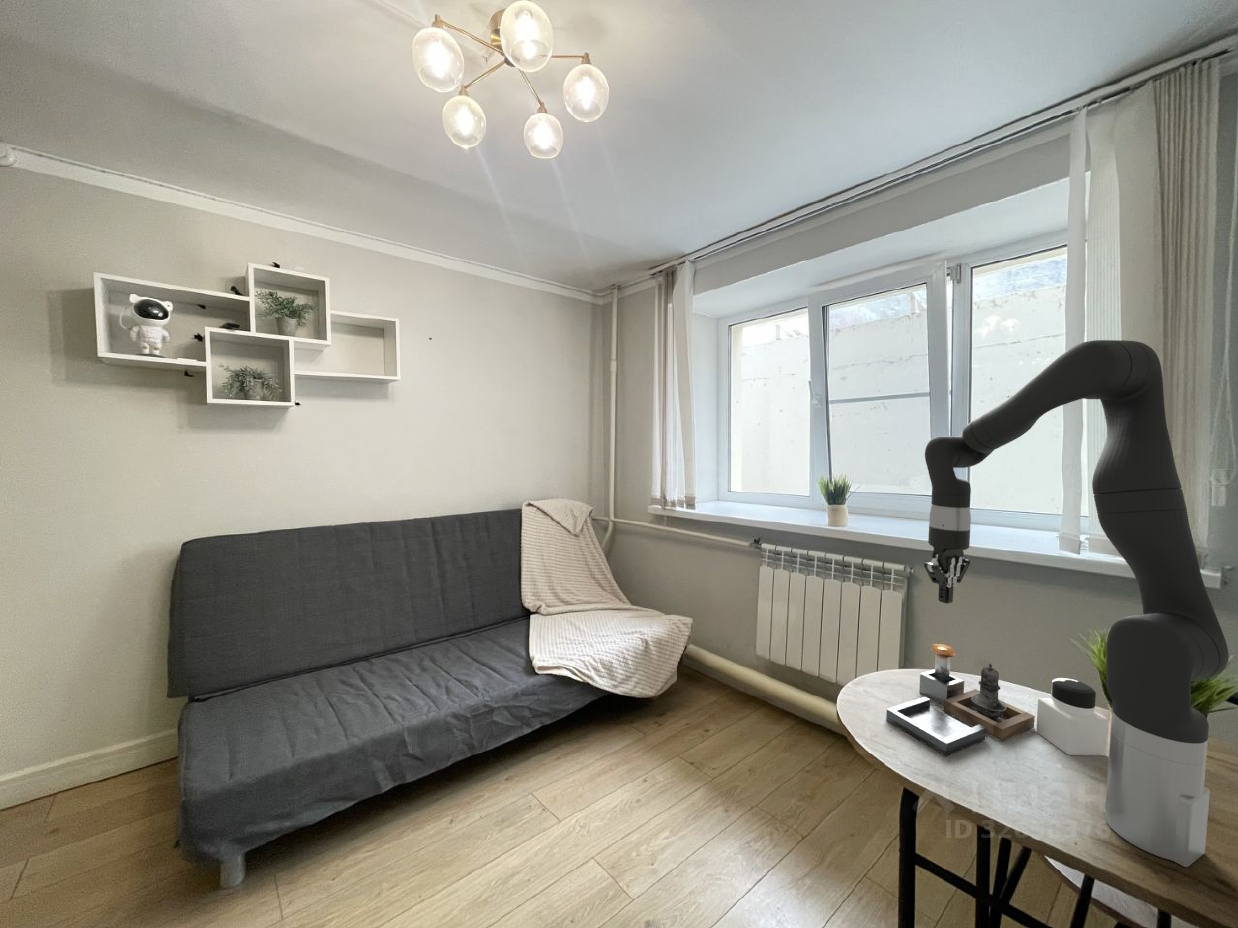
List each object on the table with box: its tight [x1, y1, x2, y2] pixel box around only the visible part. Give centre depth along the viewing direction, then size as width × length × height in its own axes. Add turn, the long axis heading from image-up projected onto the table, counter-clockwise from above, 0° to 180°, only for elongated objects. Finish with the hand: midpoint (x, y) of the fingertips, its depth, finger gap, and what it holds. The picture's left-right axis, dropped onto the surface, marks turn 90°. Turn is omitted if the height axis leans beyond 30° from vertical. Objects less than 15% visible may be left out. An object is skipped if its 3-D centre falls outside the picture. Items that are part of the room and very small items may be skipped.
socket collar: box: [943, 688, 1036, 742], centre depth 99 cm, size 11×11×2 cm
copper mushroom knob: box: [931, 643, 956, 681], centre depth 107 cm, size 4×4×7 cm
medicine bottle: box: [1035, 677, 1110, 756], centre depth 91 cm, size 7×7×12 cm
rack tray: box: [885, 696, 987, 757], centre depth 95 cm, size 12×12×2 cm
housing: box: [918, 668, 965, 706], centre depth 107 cm, size 6×6×4 cm
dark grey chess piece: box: [971, 663, 1006, 723], centre depth 98 cm, size 6×6×12 cm
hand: (945, 601), depth 106 cm, fingers closed
